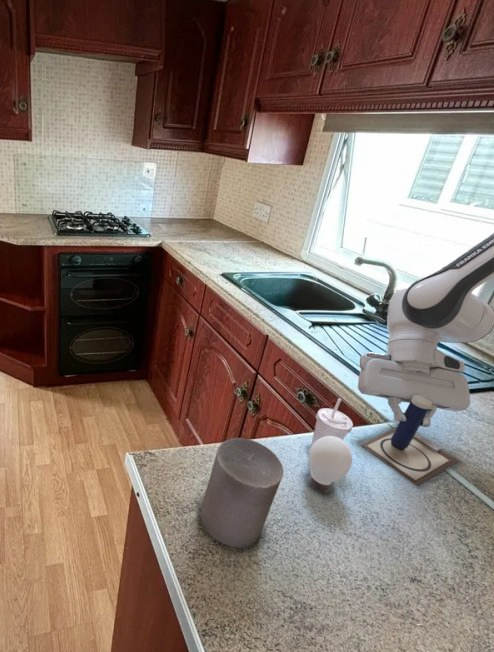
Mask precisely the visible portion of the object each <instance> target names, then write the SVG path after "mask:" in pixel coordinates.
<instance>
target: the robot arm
mask: <svg viewBox="0 0 494 652" xmlns="http://www.w3.org/2000/svg"><path fill="white" fill-rule="evenodd" d="M493 278H494V232H493V233H491V234H490V235H489V236H487V237H486V238H484V239H483V240H481V241H479V242H478V243H477V244H475V245H474V246H472V247H471V248H470V249H468V250H467V251H465V252H464V253H463V254H461V255H459V256H458V257H456V258H455V259H453V260H452V261H450V262H449V263H448V264H445V265H444V266H443V267H441V268H439V269H437V270H435V271H433V272H431V273H427V274H426V275H424V276H422V277H420V278H418V279H417V280H416V281H414V282H413V283H412V284H410V286H407V287H403V288H401V289H399V290H397V291H395V293H393V295H392V296H391V298H390V299H389V304H388V308H387V316H386V317H387V318H386V329H387V333H388V340H387V342H386V354H384V353H376V352H372V351H367V352H366V353H363V354H362V355H360V357H359V367H360V370H359V375H358V383H357V389H358V391H359V392H360V394H362V395H366V396H370V397H371V396H373V397H376V398H377V397H378V398H383V399H387V404H388V406H389V408H390V410H391V411H392V413H393V420H394V422H398V423H399V422H406V413H405V412H403V410H402V409H401V407H400V405H399V404H402V402H403V403H408V404H410V402H411V399H412V397H413V396H414V395H420V396H423V397H425V398H427V399H429V400H430V401H431V402H432V406H431V407H430V409H429V410H428V412H427V414H426V416H425V417H424V419H423V421H422V423H421V424H420V426H419V427H424V428H430V427H431V426H432V425H431V424H432V423H431V422H432V421H431V419H432V417H434V415H435V413H436V412H437V409H439V410H445V411H451V412H462V411H466V410H467V409H468V408H469V407H470V405H471V393H470V388H469V382H468V379H467V377H466V376H465V375H464V374H462V373H463V372H465V370H466V364H465V362H464V361H462V360H460V359H458V358H455V357H453V356H451V355H449V354H447V353H445V352H443V351H441V350H439V349H438V344H439V343H451V344H466V343H474V342H477V341H479V340H482V339H484V338H485V337H486V336H487V335H488V334H490V333H491V332H492V330H493V329H494V308H493V307H492V305H490V304H488V303H487V302H486V301H484V300H483V299H481V298H480V297H479V296H477V295H476V294H473V291H475V290H476V289H477V288H479V287H480V286H481V285H483V284H485V283H486V282H488V281H489V280H491V279H493Z"/></svg>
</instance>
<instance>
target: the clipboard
mask: <svg viewBox="0 0 494 652" xmlns="http://www.w3.org/2000/svg"><path fill="white" fill-rule="evenodd" d="M396 428H397V426H395V427H393V428H391V429H389V430H387V431H385V432H382V433H380V434H378V435H375V436H374V437H372V438H369V439H368V440H365V441H363V442H361V443H359V445H360V447H362V448H364V449H365V450H366V451H368V452H369V453H370V454H372V455H374V456H375V457H376V458H378V459H379V460H380V461H382V462H383V463H384V464H386V465H387V466H388V467H390V468H392V469H393V470H394V471H395V472H397V473H398V474H400V475H401V476H403V477H404V478H405V479H406V480H409V481H410V482H411V483H412V484H413V485H415V486H417V487H420V486H421V485H423V484H425V483H426V482H429V480H431V479H432V478H435V477H436V476H438V475H439V474H442V472H444V471H446V470H448V469H449V468H451V467H452V466H454V465H456V464H457V463H459V462H460V461H459V460H457V459H456V458H454V457H452V456H451V455H450V454H448V453H446V452H445V451H443V450H442V448H441V447H440V446H439V445H437V444H435V443H434V442H433V441H431V440H429V439H427V438H426V437H424V436H422V435H421V434H419V433H417V432H416V433H415V435H414V437H413V439H412V440H411V442H410V444H409V446H408V447H407V448H405V449H404V450H399V449H396V448H394V447H393V446H392V445H391V438H392V436H393V434H394V432H395V430H396Z"/></svg>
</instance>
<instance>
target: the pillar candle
mask: <svg viewBox="0 0 494 652" xmlns="http://www.w3.org/2000/svg"><path fill="white" fill-rule="evenodd" d="M283 477H284V466H283V464H282V462H281V460H280V459H279V457H278V456H277V455H276V453H274V452H273V450H271V449H270V448H268V447H267V446H265V445H263V444H262V443H260V442H258V441H255V440H252V439H249V438H244V437H233V438H228V439H227V440H224V441H223V442H222V443H221V444H220V445H219V446H218V448H217V451H216V455H215V457H214V462H213V465H212V469H211V472H210V476H209V479H208V484H207V487H206V490H205V493H204V497H203V500H202V503H201V507H200V513H199V514H200V515H199V516H200V520H201V521H200V522H201V523H202V525H203V527H204V528H205V530H206V532H208V534H209V535H210V536H211V537H212V538H213V539H215V540H216V541H218V542H220V543H221V544H223V545H225V546H227V547H231V548H235V549H236V548H237V549H238V548H240V549H243V548H248V547H250V546H252V545H253V544H255V543H256V542H257V540H258V539H259V538H260V537H261V535H262V531H263V528H264V525H265V523H266V520H267V519H268V515H269V513H270V510H271V507H272V504H273V502H274V500H275V497H276V495H277V492H278V490H279V487H280V484H281V481H282V479H283Z"/></svg>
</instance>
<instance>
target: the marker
mask: <svg viewBox="0 0 494 652" xmlns="http://www.w3.org/2000/svg"><path fill="white" fill-rule="evenodd" d="M431 406H432V402H431V401H430V400H429V399H427V398H425V397H423V396H420V395H414V396H413V397H412V399H411V402H410V403H408V405H407V407H406V409H405V411H404V413H406V422H398V424H397V426H396V427H397V428H396V427H395V428H396V430H395V432H394V434H393V436H392V438H391V445H392V446H393V447H394V448H396V449H399V450H404V449H405V448H407V447H408V446H409V444H410V442H411V440H412V439H413V437H414V435H415V434H417V432H418V430H419V428H420V427H421V426H420V424H421V423H422V421H423V419H424V417H425V416H426V414H427V412H428V410H429V409H430V407H431Z"/></svg>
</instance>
